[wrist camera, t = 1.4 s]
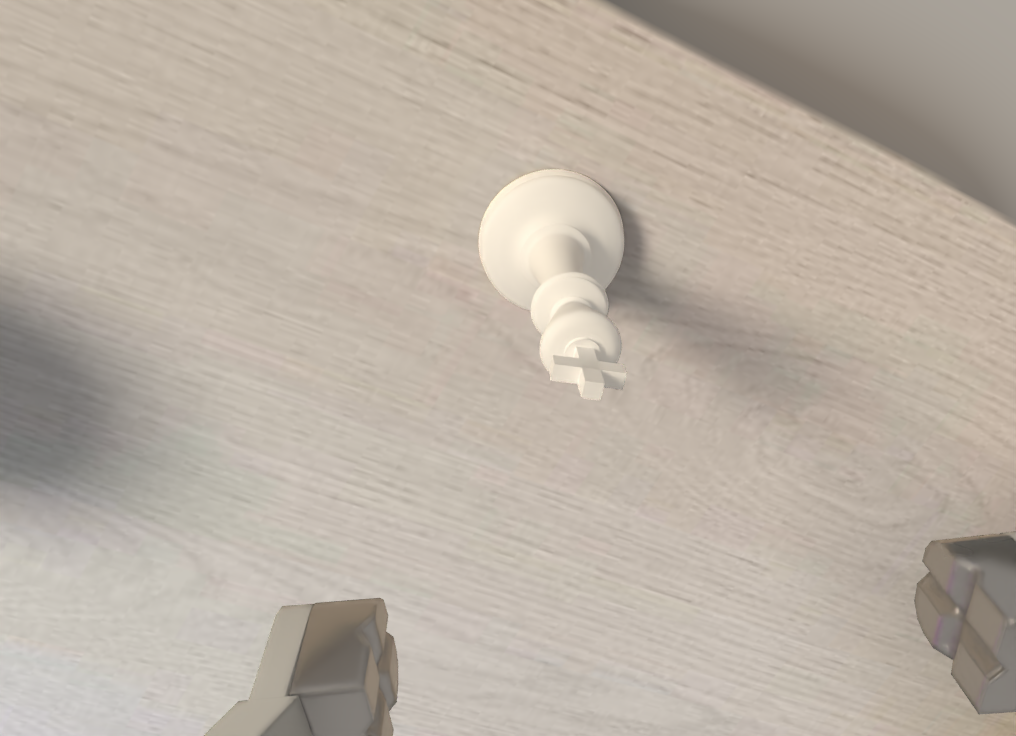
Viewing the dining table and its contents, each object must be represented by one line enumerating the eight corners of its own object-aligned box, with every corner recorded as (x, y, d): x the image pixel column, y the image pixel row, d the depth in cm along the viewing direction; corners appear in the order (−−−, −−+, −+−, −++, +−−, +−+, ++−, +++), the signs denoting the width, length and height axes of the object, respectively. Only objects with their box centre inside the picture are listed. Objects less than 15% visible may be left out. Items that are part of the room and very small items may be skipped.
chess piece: (605, 316, 26) (670, 491, 17) (469, 298, 26) (466, 468, 17) (639, 181, 24) (734, 304, 15) (490, 157, 23) (500, 271, 15)
